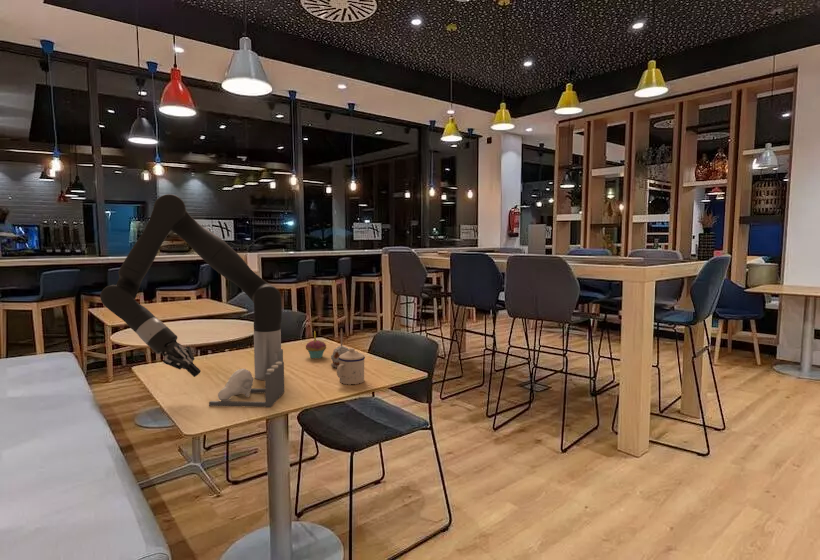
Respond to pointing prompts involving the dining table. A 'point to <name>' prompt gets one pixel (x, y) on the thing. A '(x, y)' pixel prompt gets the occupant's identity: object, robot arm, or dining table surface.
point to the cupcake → (316, 347)
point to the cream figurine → (237, 385)
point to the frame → (263, 389)
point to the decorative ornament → (338, 353)
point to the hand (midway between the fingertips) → (197, 374)
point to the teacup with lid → (351, 367)
